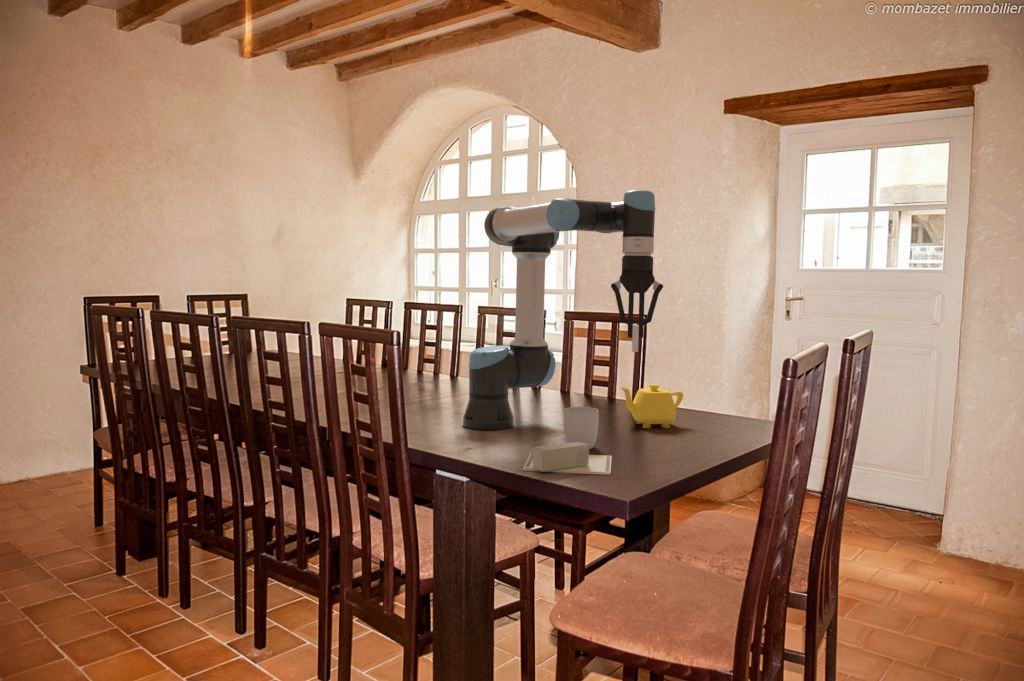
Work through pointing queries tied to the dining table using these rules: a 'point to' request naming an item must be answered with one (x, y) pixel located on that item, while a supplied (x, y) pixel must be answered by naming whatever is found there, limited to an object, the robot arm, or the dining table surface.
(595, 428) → the mug
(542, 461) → the box
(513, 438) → the dining table surface
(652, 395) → the teapot
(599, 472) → the white tray
